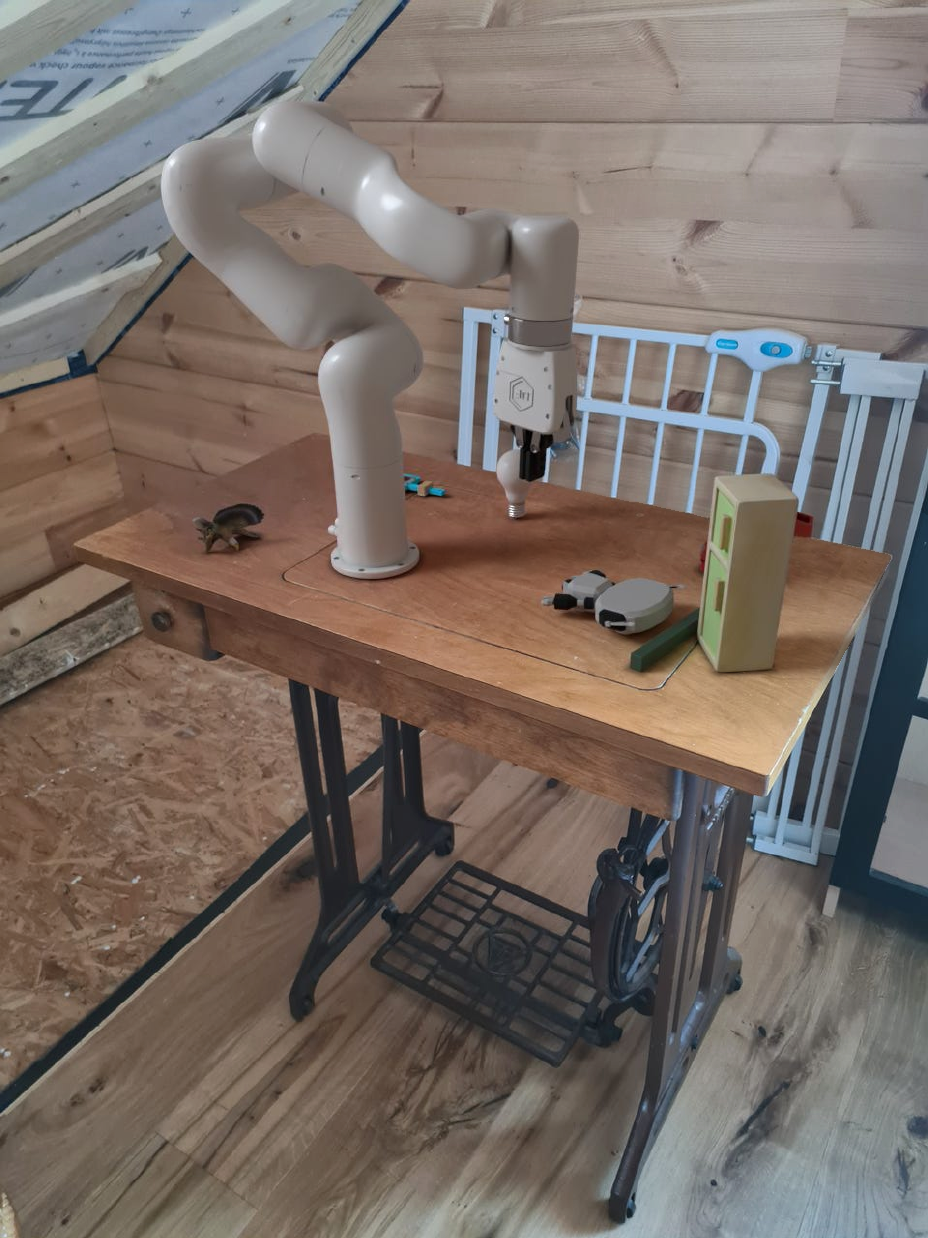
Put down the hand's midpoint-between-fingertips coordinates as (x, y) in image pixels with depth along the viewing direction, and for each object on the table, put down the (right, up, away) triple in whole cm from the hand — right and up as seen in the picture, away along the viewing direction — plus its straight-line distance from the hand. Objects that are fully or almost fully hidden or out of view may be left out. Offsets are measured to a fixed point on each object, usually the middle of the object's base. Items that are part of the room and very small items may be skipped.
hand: (531, 477), depth 117 cm
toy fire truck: (+30, -12, +8) cm, 34 cm away
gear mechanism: (-21, +4, +39) cm, 44 cm away
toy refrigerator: (+23, -22, -9) cm, 33 cm away
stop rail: (+17, -21, -6) cm, 28 cm away
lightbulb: (0, -2, +27) cm, 27 cm away
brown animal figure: (-43, -7, +20) cm, 49 cm away
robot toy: (+10, -18, 0) cm, 21 cm away
